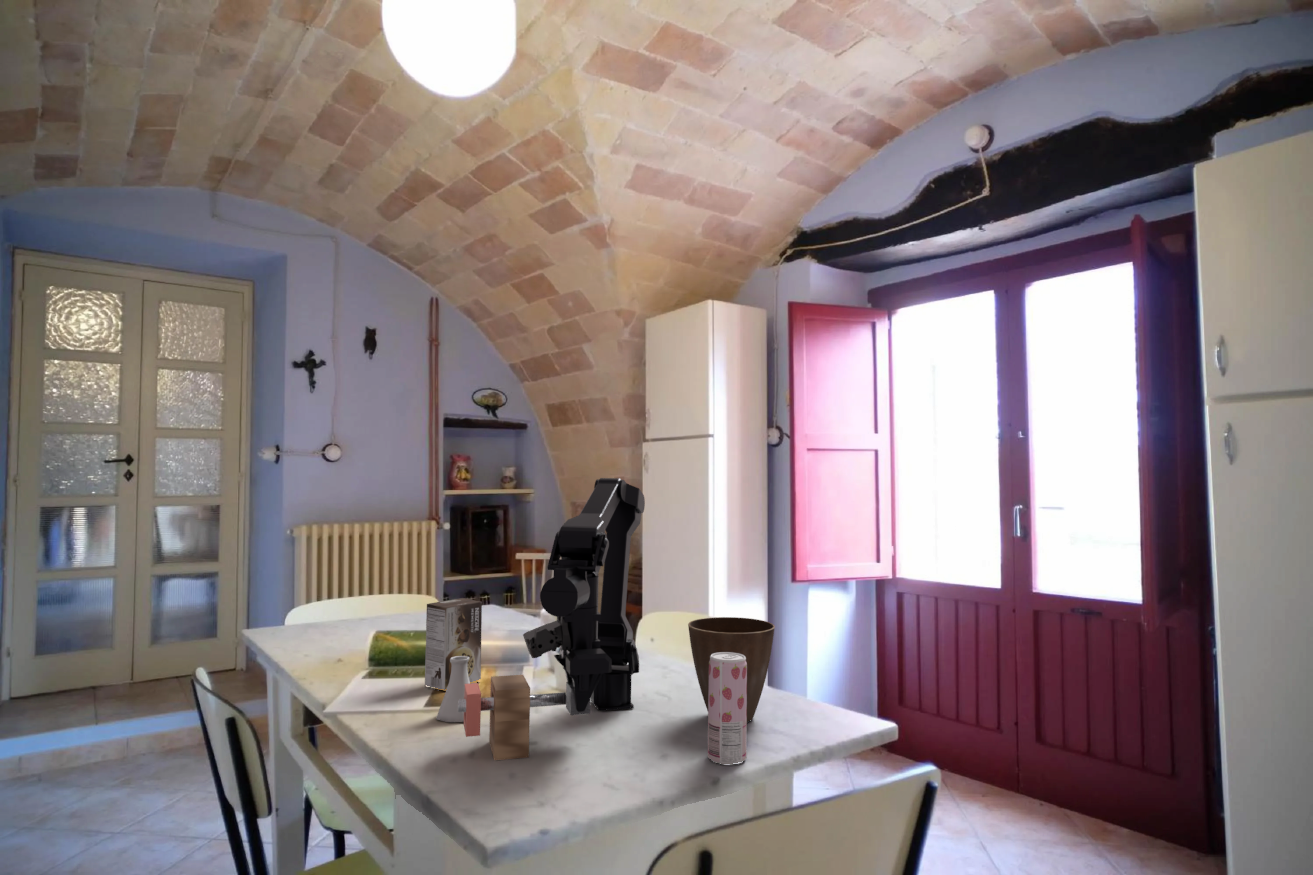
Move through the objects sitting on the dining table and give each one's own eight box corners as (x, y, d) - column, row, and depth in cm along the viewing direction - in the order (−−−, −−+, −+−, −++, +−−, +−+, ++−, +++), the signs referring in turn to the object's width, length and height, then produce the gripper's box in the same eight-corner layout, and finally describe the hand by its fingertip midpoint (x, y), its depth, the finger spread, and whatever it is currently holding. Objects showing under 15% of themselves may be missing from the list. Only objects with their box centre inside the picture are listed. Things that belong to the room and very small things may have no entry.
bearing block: (521, 739, 122) (523, 674, 122) (528, 757, 114) (530, 688, 115) (489, 741, 120) (490, 676, 121) (494, 760, 113) (495, 690, 113)
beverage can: (748, 753, 117) (749, 652, 117) (743, 767, 111) (744, 661, 112) (710, 750, 118) (711, 650, 119) (704, 763, 112) (705, 658, 113)
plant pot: (675, 725, 130) (676, 628, 131) (701, 701, 144) (702, 613, 144) (763, 736, 125) (764, 635, 125) (781, 710, 139) (782, 620, 139)
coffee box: (460, 677, 158) (462, 597, 159) (481, 682, 154) (483, 600, 155) (422, 686, 151) (425, 602, 151) (444, 692, 147) (447, 606, 148)
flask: (468, 725, 128) (470, 664, 129) (428, 722, 130) (429, 661, 130) (486, 712, 135) (488, 654, 136) (448, 709, 137) (449, 651, 137)
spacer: (477, 722, 119) (478, 682, 119) (480, 735, 113) (481, 693, 113) (463, 723, 118) (464, 683, 119) (465, 736, 113) (467, 694, 113)
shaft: (584, 706, 123) (585, 680, 123) (590, 713, 119) (590, 687, 119) (457, 715, 117) (458, 688, 117) (458, 723, 113) (459, 695, 113)
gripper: (520, 597, 128) (517, 694, 127) (536, 618, 110) (534, 730, 109) (586, 595, 131) (584, 689, 130) (613, 615, 113) (611, 724, 113)
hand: (577, 707), depth 121 cm, fingers closed on shaft, 4 cm apart
